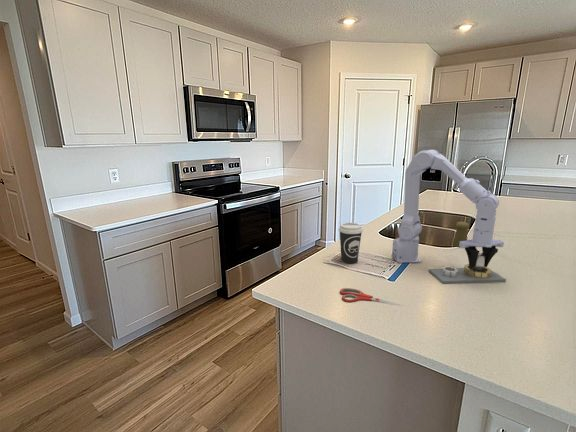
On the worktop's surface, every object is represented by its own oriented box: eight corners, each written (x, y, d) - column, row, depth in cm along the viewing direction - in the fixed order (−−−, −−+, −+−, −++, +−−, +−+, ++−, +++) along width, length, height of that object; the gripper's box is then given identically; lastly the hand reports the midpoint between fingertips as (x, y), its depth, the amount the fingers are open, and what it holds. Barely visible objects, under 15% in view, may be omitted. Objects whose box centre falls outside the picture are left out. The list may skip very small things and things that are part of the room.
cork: (469, 248, 138) (472, 224, 135) (454, 247, 139) (457, 223, 136) (464, 243, 144) (468, 220, 141) (450, 242, 145) (453, 220, 142)
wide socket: (472, 278, 107) (473, 273, 106) (459, 269, 114) (460, 264, 114) (495, 278, 107) (496, 272, 106) (480, 268, 115) (481, 263, 114)
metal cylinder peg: (475, 272, 108) (477, 256, 107) (468, 268, 112) (470, 252, 111) (486, 272, 109) (488, 256, 107) (478, 267, 113) (480, 252, 111)
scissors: (410, 310, 91) (410, 305, 91) (338, 302, 96) (338, 298, 95) (406, 297, 98) (407, 292, 98) (340, 290, 103) (340, 286, 102)
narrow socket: (446, 277, 108) (446, 272, 107) (438, 271, 113) (439, 266, 112) (460, 277, 108) (461, 271, 108) (452, 271, 113) (453, 266, 112)
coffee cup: (363, 258, 128) (365, 223, 125) (358, 266, 120) (360, 230, 116) (341, 254, 132) (342, 221, 128) (334, 263, 124) (335, 227, 120)
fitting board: (442, 283, 106) (442, 281, 105) (428, 271, 115) (428, 268, 115) (505, 281, 106) (505, 279, 106) (486, 269, 116) (486, 267, 116)
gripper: (469, 233, 102) (464, 271, 106) (512, 232, 103) (505, 270, 106) (457, 227, 109) (453, 263, 113) (498, 226, 110) (492, 262, 113)
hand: (477, 266), depth 110 cm, fingers closed on metal cylinder peg, 4 cm apart
